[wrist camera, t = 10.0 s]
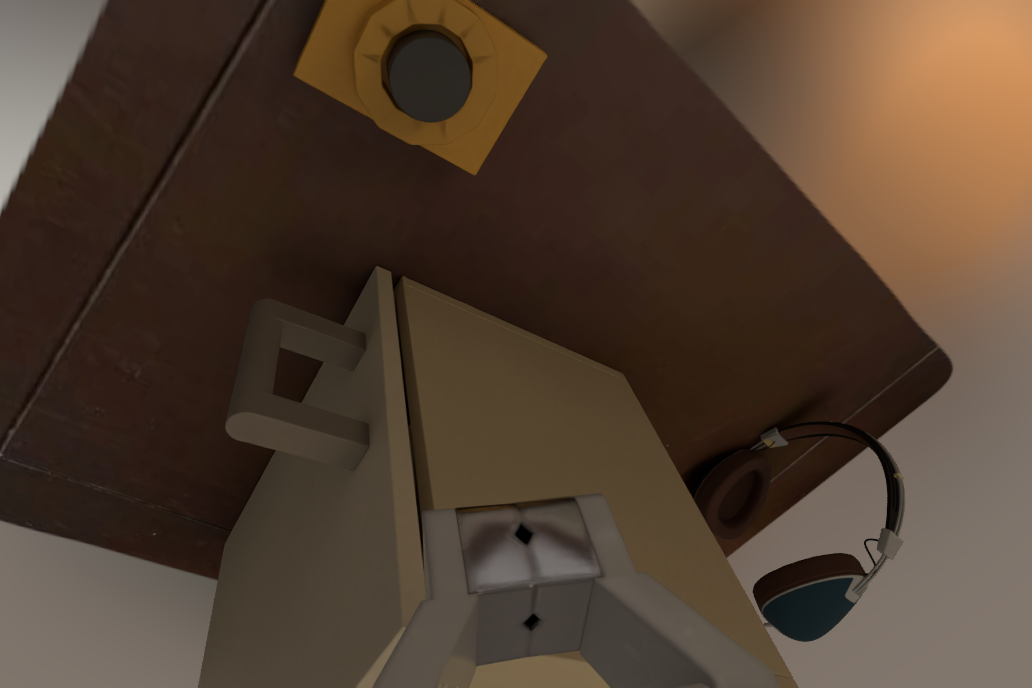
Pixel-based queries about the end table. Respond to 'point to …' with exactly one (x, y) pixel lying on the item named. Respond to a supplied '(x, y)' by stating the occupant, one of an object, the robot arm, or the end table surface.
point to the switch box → (364, 58)
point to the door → (320, 507)
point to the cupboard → (554, 462)
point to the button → (428, 76)
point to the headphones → (810, 582)
